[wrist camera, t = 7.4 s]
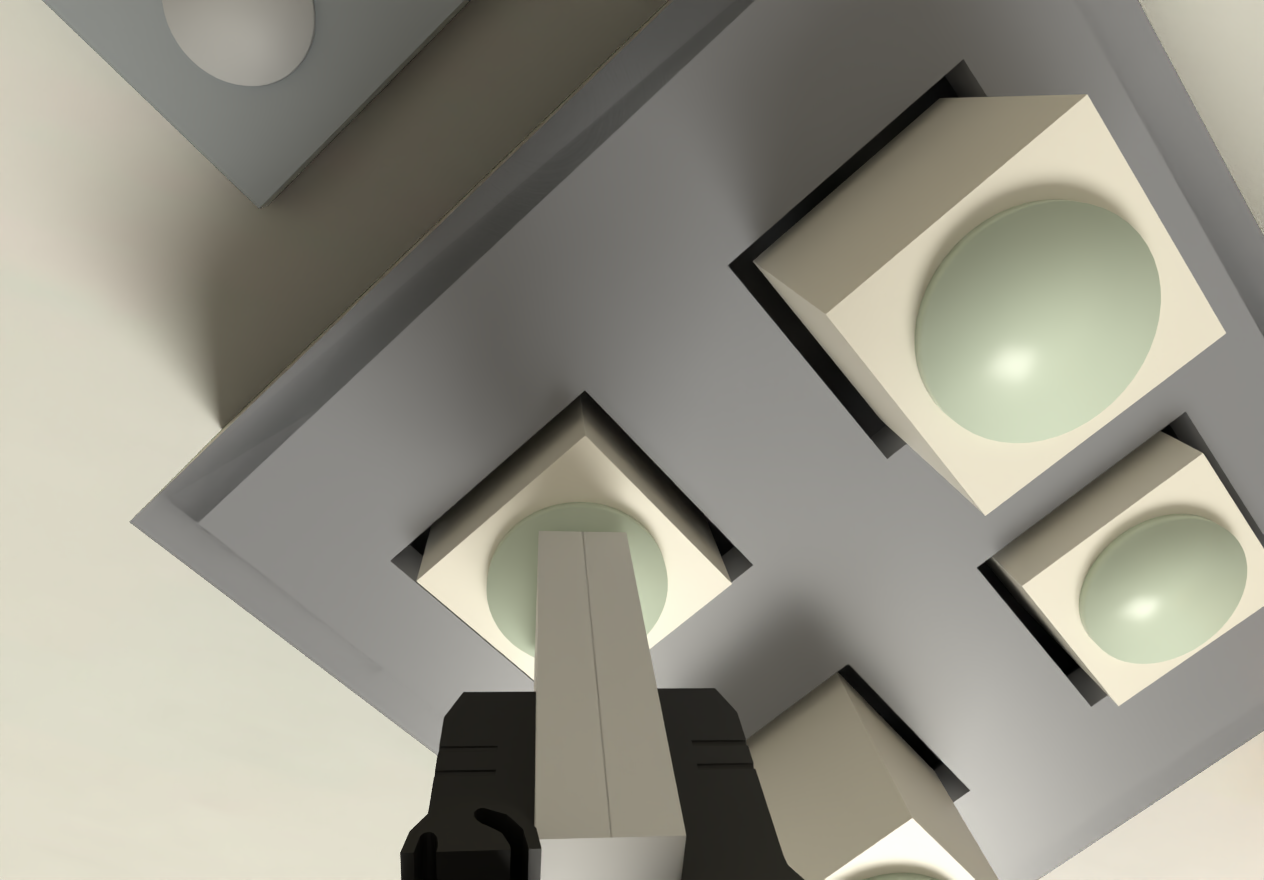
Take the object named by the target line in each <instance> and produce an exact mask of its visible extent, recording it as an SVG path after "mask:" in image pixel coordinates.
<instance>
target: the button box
mask: <svg viewBox="0 0 1264 880" xmlns="http://www.w3.org/2000/svg"><path fill="white" fill-rule="evenodd" d="M1079 94H1088V96H1089V98H1090V100H1091V101H1092V103H1093V105H1094V107H1095V108H1096V110H1097V112H1098V113H1099V115H1100V117H1101V119H1102V120H1103V122H1104V124H1105V125H1106V127H1107V129H1108V131H1109V132H1110V134H1111V136H1112V137H1113V139H1114V141H1115V143H1116V144H1117V146H1118V148H1119V150H1120V151H1121V153H1122V155H1123V156H1124V158H1125V160H1126V162H1127V163H1128V165H1129V167H1130V168H1131V170H1132V172H1133V174H1134V175H1135V177H1136V179H1137V181H1138V182H1139V184H1140V186H1141V187H1142V189H1143V191H1144V193H1145V194H1146V196H1147V198H1148V199H1149V201H1150V203H1151V205H1152V206H1153V208H1154V210H1155V211H1156V213H1157V215H1158V217H1159V218H1160V220H1161V222H1162V224H1163V225H1164V227H1165V229H1166V230H1167V232H1168V234H1169V236H1170V237H1171V239H1172V241H1173V242H1174V244H1175V246H1176V248H1177V249H1178V251H1179V253H1180V254H1181V256H1182V258H1183V260H1184V261H1185V263H1186V265H1187V267H1188V268H1189V270H1190V272H1191V273H1192V275H1193V277H1194V279H1195V280H1196V282H1197V284H1198V285H1199V287H1200V289H1201V291H1202V292H1203V294H1204V296H1205V298H1206V299H1207V301H1208V303H1209V304H1210V306H1211V308H1212V310H1213V311H1214V313H1215V315H1216V316H1217V318H1218V320H1219V322H1220V323H1221V325H1222V327H1223V328H1224V330H1225V332H1226V334H1225V335H1223V336H1222V337H1221V338H1219V339H1218V340H1217V341H1215V342H1214V343H1213V344H1211V345H1210V346H1209V347H1207V348H1206V349H1205V350H1204V351H1202V352H1201V353H1200V354H1198V355H1197V356H1196V357H1194V358H1193V359H1192V360H1190V361H1189V362H1188V363H1186V364H1185V365H1184V366H1182V367H1181V368H1180V369H1178V370H1177V371H1176V372H1175V373H1173V374H1172V375H1171V376H1169V377H1168V378H1167V379H1165V380H1164V381H1163V382H1161V383H1160V384H1159V385H1157V386H1156V387H1155V388H1153V389H1152V390H1151V391H1149V392H1148V393H1147V394H1146V395H1144V396H1143V397H1142V398H1140V399H1139V400H1138V401H1136V402H1135V403H1134V404H1132V405H1131V406H1130V407H1128V408H1127V409H1126V410H1124V411H1123V412H1122V413H1120V414H1119V415H1118V416H1117V417H1115V418H1114V419H1113V420H1111V421H1110V422H1109V423H1107V424H1106V425H1105V426H1103V427H1102V428H1101V429H1099V430H1098V431H1097V432H1095V433H1094V434H1093V435H1091V436H1090V437H1089V438H1088V439H1086V440H1085V441H1084V442H1082V443H1081V444H1080V445H1078V446H1077V447H1076V448H1074V449H1073V450H1072V451H1070V452H1069V453H1068V454H1066V455H1065V456H1064V457H1062V458H1061V459H1060V460H1059V461H1057V462H1056V463H1055V464H1053V465H1052V466H1051V467H1049V468H1048V469H1047V470H1045V471H1044V472H1043V473H1041V474H1040V475H1039V476H1037V477H1036V478H1035V479H1033V480H1032V481H1031V482H1030V483H1028V484H1027V485H1026V486H1024V487H1023V488H1022V489H1020V490H1019V491H1018V492H1016V493H1015V494H1014V495H1012V496H1011V497H1010V498H1008V499H1007V500H1006V501H1004V502H1003V503H1002V504H1001V505H999V506H998V507H997V508H995V509H994V510H993V511H991V512H990V513H989V514H987V515H986V516H985V515H984V514H983V513H982V512H981V511H980V510H978V509H977V508H976V507H975V506H974V505H973V504H972V503H971V502H970V501H969V500H968V499H967V498H965V497H964V496H963V495H962V494H961V493H960V492H959V491H958V490H957V489H956V488H955V487H953V486H952V485H951V484H950V483H949V482H948V481H947V480H946V479H945V478H944V477H943V476H942V475H940V474H939V473H938V472H937V471H936V470H935V469H934V468H933V467H932V466H931V465H930V464H928V463H927V462H926V461H925V460H924V459H923V458H922V457H921V456H920V455H919V454H918V453H917V452H915V451H914V450H913V449H912V448H911V447H910V446H909V445H908V444H907V443H906V442H905V441H903V440H902V439H901V438H900V437H899V436H898V435H897V434H896V433H895V432H894V431H893V430H892V429H890V428H889V427H888V426H887V425H886V424H885V423H884V422H883V421H882V420H881V419H880V418H879V417H878V416H877V414H876V413H875V412H874V411H873V409H872V408H871V407H870V406H869V405H868V403H867V402H866V401H865V400H864V398H863V397H862V396H861V395H860V393H859V392H858V391H857V390H856V388H855V387H854V386H853V385H852V384H851V382H850V381H849V380H848V379H847V377H846V376H845V375H844V374H843V372H842V371H841V370H840V369H839V367H838V366H837V365H836V364H835V362H834V361H833V360H832V359H831V358H830V356H829V355H828V354H827V353H826V351H825V350H824V349H823V348H822V346H821V345H820V344H819V343H818V341H817V340H816V339H815V338H814V337H813V335H812V334H811V333H810V332H809V330H808V329H807V328H806V327H805V325H804V324H803V323H802V322H801V320H800V319H799V318H798V317H797V316H796V314H795V313H794V312H793V311H792V309H791V308H790V307H789V306H788V304H787V303H786V302H785V301H784V299H783V298H782V297H781V296H780V294H779V293H778V292H777V291H776V290H775V288H774V287H773V286H772V285H771V283H770V282H769V281H768V280H767V278H766V277H765V276H764V275H763V273H762V272H761V271H760V270H759V269H758V267H757V266H756V265H755V264H754V262H753V260H754V259H756V258H757V257H758V256H759V255H760V254H761V253H763V252H764V251H765V250H766V249H767V248H768V247H769V246H771V245H772V244H773V243H774V242H775V241H776V240H777V239H779V238H780V237H781V236H782V235H783V234H784V233H785V232H787V231H788V230H789V229H790V228H791V227H792V226H794V225H795V224H796V223H797V222H798V221H799V220H800V219H802V218H803V217H804V216H805V215H806V214H807V213H808V212H810V211H811V210H812V209H813V208H814V207H815V206H817V205H818V204H819V203H820V202H821V201H822V200H823V199H825V198H826V197H827V196H828V195H829V194H830V193H831V192H833V191H834V190H835V189H836V188H837V187H838V186H839V185H841V184H842V183H843V182H844V181H845V180H846V179H848V178H849V177H850V176H851V175H852V174H853V173H854V172H856V171H857V170H858V169H859V168H860V167H861V166H862V165H864V164H865V163H866V162H867V161H868V160H869V159H870V158H872V157H873V156H874V155H875V154H876V153H877V152H879V151H880V150H881V149H882V148H883V147H884V146H885V145H887V144H888V143H889V142H890V141H891V140H892V139H893V138H895V137H896V136H897V135H898V134H899V133H900V132H901V131H903V130H904V129H905V128H906V127H907V126H908V125H910V124H911V123H912V122H913V121H914V120H915V119H916V118H918V117H919V116H920V115H921V114H922V113H923V112H924V111H926V110H927V109H928V108H929V107H930V106H931V105H932V104H934V103H935V102H936V101H937V100H938V99H939V98H965V97H1003V96H1041V95H1079ZM584 391H586V392H587V393H588V394H589V395H590V396H591V397H592V398H593V399H594V400H595V401H596V402H597V403H598V404H599V405H600V406H601V407H602V408H603V409H604V410H605V411H606V413H607V414H608V415H609V416H610V417H611V418H612V419H613V420H614V421H615V422H616V423H617V424H618V425H619V426H620V427H621V428H622V429H623V430H624V431H625V432H626V433H627V434H628V435H629V436H630V437H631V438H632V440H633V441H634V442H635V443H636V444H637V445H638V446H639V447H640V448H641V449H642V450H643V451H644V452H645V453H646V454H647V455H648V456H649V457H650V458H651V459H652V460H653V461H654V462H655V463H656V464H657V466H658V467H659V468H660V469H661V470H662V471H663V472H664V473H665V474H666V475H667V476H668V477H669V478H670V479H671V480H672V481H673V482H674V483H675V484H676V485H677V486H678V487H679V488H680V489H681V490H682V491H683V493H684V494H685V495H686V496H687V497H688V498H689V499H690V500H691V501H692V502H693V503H694V504H695V505H696V506H697V507H698V508H699V509H700V510H701V511H702V512H703V513H704V515H705V517H706V520H707V522H708V525H709V527H710V530H711V532H712V535H713V537H714V540H715V542H716V545H717V547H718V550H719V552H720V555H721V557H722V560H723V562H724V565H725V567H726V570H727V572H728V575H729V577H730V580H731V582H732V584H731V585H730V586H729V587H728V588H726V589H725V590H724V591H723V592H721V593H720V594H719V595H718V596H716V597H715V598H714V599H712V600H711V601H710V602H709V603H707V604H706V605H705V606H704V607H702V608H701V609H700V610H699V611H697V612H696V613H695V614H693V615H692V616H691V617H690V618H688V619H687V620H686V621H685V622H683V623H682V624H681V625H680V626H678V627H677V628H676V629H675V630H673V631H672V632H671V633H669V634H668V635H667V636H666V637H664V638H663V639H662V640H661V641H659V642H658V643H657V644H656V645H654V646H653V647H652V648H651V649H649V650H650V655H651V660H652V665H653V670H654V675H655V680H656V685H657V688H715V689H716V690H717V691H718V692H719V693H720V694H721V695H722V696H723V697H724V698H725V699H726V700H727V702H728V703H729V704H730V705H731V706H732V707H733V708H734V709H735V710H736V711H737V713H738V716H739V719H740V722H741V725H742V728H743V732H744V735H745V738H746V740H747V739H748V738H749V737H751V736H752V735H754V734H755V733H756V732H758V731H759V730H760V729H762V728H763V727H764V726H766V725H767V724H768V723H770V722H771V721H772V720H774V719H775V718H776V717H778V716H779V715H780V714H782V713H783V712H784V711H786V710H787V709H788V708H790V707H791V706H792V705H794V704H795V703H796V702H798V701H799V700H800V699H802V698H803V697H804V696H806V695H807V694H808V693H810V692H811V691H812V690H814V689H815V688H816V687H818V686H819V685H820V684H822V683H823V682H824V681H826V680H827V679H828V678H830V677H831V676H832V675H834V674H835V673H836V672H838V673H839V674H840V675H841V676H842V677H843V678H844V679H845V680H846V681H847V682H848V683H849V684H850V685H851V686H852V687H853V688H854V689H855V690H856V691H857V692H858V693H859V694H860V695H861V696H862V697H863V698H864V699H865V700H866V701H867V703H868V704H869V705H870V706H871V707H872V708H873V709H874V710H875V711H876V712H877V713H878V714H879V715H880V716H881V717H882V718H883V719H884V720H885V721H886V722H887V723H888V724H889V725H890V726H891V727H892V728H893V729H894V730H895V731H896V732H897V733H898V734H899V735H900V736H901V737H902V738H903V739H904V740H905V741H906V743H907V744H908V745H909V746H910V747H911V748H912V749H913V750H914V751H915V752H916V753H917V754H918V755H919V756H920V757H921V758H922V759H923V760H924V761H925V762H926V763H927V764H928V765H929V766H930V767H931V768H932V769H933V770H934V771H935V773H936V774H937V776H938V778H939V779H940V781H941V783H942V785H943V786H944V788H945V790H946V791H947V793H948V795H949V796H950V798H951V800H952V801H953V803H954V805H955V807H956V808H957V810H958V812H959V813H960V815H961V817H962V818H963V820H964V822H965V823H966V825H967V827H968V829H969V830H970V832H971V834H972V835H973V837H974V839H975V840H976V842H977V844H978V845H979V847H980V849H981V851H982V852H983V854H984V856H985V857H986V859H987V861H988V862H989V864H990V866H991V867H992V869H993V871H994V872H995V874H996V876H997V878H998V879H999V880H1039V879H1040V878H1042V877H1043V876H1045V875H1046V874H1048V873H1049V872H1051V871H1052V870H1054V869H1055V868H1057V867H1058V866H1060V865H1061V864H1063V863H1064V862H1066V861H1067V860H1069V859H1070V858H1072V857H1073V856H1075V855H1076V854H1078V853H1080V852H1081V851H1083V850H1084V849H1086V848H1087V847H1089V846H1090V845H1092V844H1093V843H1095V842H1096V841H1098V840H1099V839H1101V838H1102V837H1104V836H1105V835H1107V834H1108V833H1110V832H1111V831H1113V830H1114V829H1116V828H1117V827H1119V826H1120V825H1122V824H1123V823H1125V822H1126V821H1128V820H1129V819H1131V818H1132V817H1134V816H1136V815H1137V814H1139V813H1140V812H1142V811H1143V810H1145V809H1146V808H1148V807H1149V806H1151V805H1152V804H1154V803H1155V802H1157V801H1158V800H1160V799H1161V798H1163V797H1164V796H1166V795H1167V794H1169V793H1170V792H1172V791H1173V790H1175V789H1176V788H1178V787H1179V786H1181V785H1182V784H1184V783H1185V782H1187V781H1188V780H1190V779H1192V778H1193V777H1195V776H1196V775H1198V774H1199V773H1201V772H1202V771H1204V770H1205V769H1207V768H1208V767H1210V766H1211V765H1213V764H1214V763H1216V762H1217V761H1219V760H1220V759H1222V758H1223V757H1225V756H1226V755H1228V754H1229V753H1231V752H1232V751H1234V750H1235V749H1237V748H1238V747H1240V746H1241V745H1243V744H1244V743H1246V742H1248V741H1249V740H1251V739H1252V738H1254V737H1255V736H1257V735H1258V734H1260V733H1261V732H1263V731H1264V606H1263V607H1262V608H1260V609H1259V610H1258V611H1256V612H1255V613H1253V614H1252V615H1250V616H1249V617H1247V618H1246V619H1244V620H1243V621H1242V622H1240V623H1239V624H1237V625H1236V626H1234V627H1233V628H1231V629H1230V630H1228V631H1227V632H1226V633H1224V634H1223V635H1221V636H1220V637H1218V638H1217V639H1215V640H1214V641H1213V642H1211V643H1210V644H1208V645H1207V646H1205V647H1204V648H1202V649H1201V650H1199V651H1198V652H1197V653H1195V654H1194V655H1192V656H1191V657H1189V658H1188V659H1186V660H1185V661H1184V662H1182V663H1181V664H1179V665H1178V666H1176V667H1175V668H1173V669H1172V670H1170V671H1169V672H1168V673H1166V674H1165V675H1163V676H1162V677H1160V678H1159V679H1157V680H1156V681H1155V682H1153V683H1152V684H1150V685H1149V686H1147V687H1146V688H1144V689H1143V690H1141V691H1140V692H1139V693H1137V694H1136V695H1134V696H1133V697H1131V698H1130V699H1128V700H1127V701H1125V702H1124V703H1123V704H1121V705H1120V706H1118V705H1117V704H1116V703H1115V702H1114V701H1113V700H1112V699H1111V698H1110V697H1109V696H1108V695H1107V694H1106V693H1105V692H1104V691H1103V690H1102V689H1101V688H1100V687H1099V686H1098V685H1097V683H1096V682H1095V681H1094V680H1093V679H1092V678H1091V677H1090V676H1089V675H1088V674H1087V673H1086V672H1085V671H1084V670H1083V669H1082V668H1081V667H1080V666H1079V665H1078V664H1077V663H1076V662H1075V661H1074V660H1073V659H1072V658H1071V656H1070V655H1069V654H1068V653H1067V652H1066V651H1065V650H1064V649H1063V648H1062V647H1061V646H1060V645H1059V644H1058V643H1057V642H1056V641H1055V640H1054V639H1053V638H1052V637H1051V636H1050V635H1049V634H1048V633H1047V632H1046V631H1045V630H1044V628H1043V627H1042V626H1041V625H1040V624H1039V623H1038V622H1037V621H1036V620H1035V619H1034V618H1033V617H1032V616H1031V615H1030V614H1029V613H1028V612H1027V611H1026V610H1025V609H1024V608H1023V607H1022V606H1021V605H1020V604H1019V603H1018V601H1017V600H1016V599H1015V598H1014V597H1013V596H1012V594H1011V593H1010V592H1009V591H1008V590H1007V588H1006V587H1005V586H1004V585H1003V583H1002V582H1001V581H1000V580H999V578H998V577H997V576H996V575H995V574H994V572H993V571H992V570H991V569H990V567H989V566H988V565H987V564H986V563H985V561H986V560H988V559H989V558H990V557H992V556H993V555H994V554H996V553H997V552H998V551H1000V550H1001V549H1002V548H1004V547H1005V546H1006V545H1008V544H1009V543H1010V542H1012V541H1013V540H1014V539H1016V538H1017V537H1018V536H1020V535H1021V534H1022V533H1024V532H1025V531H1026V530H1028V529H1029V528H1030V527H1032V526H1033V525H1034V524H1036V523H1037V522H1038V521H1040V520H1041V519H1043V518H1044V517H1045V516H1047V515H1048V514H1049V513H1051V512H1052V511H1053V510H1055V509H1056V508H1057V507H1059V506H1060V505H1061V504H1063V503H1064V502H1065V501H1067V500H1068V499H1069V498H1071V497H1072V496H1073V495H1075V494H1076V493H1077V492H1079V491H1080V490H1081V489H1083V488H1084V487H1085V486H1087V485H1088V484H1089V483H1091V482H1092V481H1093V480H1095V479H1096V478H1097V477H1099V476H1100V475H1101V474H1103V473H1104V472H1105V471H1107V470H1108V469H1109V468H1111V467H1112V466H1113V465H1115V464H1116V463H1117V462H1119V461H1120V460H1121V459H1123V458H1124V457H1125V456H1127V455H1128V454H1129V453H1131V452H1132V451H1133V450H1135V449H1136V448H1137V447H1139V446H1140V445H1142V444H1143V443H1144V442H1146V441H1147V440H1148V439H1150V438H1151V437H1152V436H1154V435H1155V434H1156V433H1158V432H1159V431H1162V432H1164V433H1165V434H1167V435H1169V436H1171V437H1173V438H1175V439H1177V440H1179V441H1181V442H1183V443H1185V444H1187V445H1188V446H1190V447H1192V448H1194V449H1196V450H1198V451H1200V452H1202V453H1203V454H1204V455H1205V457H1206V458H1207V460H1208V462H1209V463H1210V465H1211V466H1212V468H1213V470H1214V471H1215V473H1216V474H1217V476H1218V477H1219V479H1220V481H1221V482H1222V484H1223V485H1224V487H1225V488H1226V490H1227V492H1228V493H1229V495H1230V496H1231V498H1232V499H1233V501H1234V503H1235V504H1236V506H1237V507H1238V509H1239V510H1240V512H1241V514H1242V515H1243V517H1244V518H1245V520H1246V521H1247V523H1248V525H1249V526H1250V528H1251V529H1252V531H1253V532H1254V534H1255V536H1256V537H1257V539H1258V540H1259V542H1260V543H1261V545H1262V547H1263V548H1264V236H1263V234H1262V232H1261V230H1260V228H1259V226H1258V224H1257V223H1256V221H1255V219H1254V217H1253V215H1252V213H1251V211H1250V209H1249V208H1248V206H1247V204H1246V202H1245V200H1244V198H1243V196H1242V194H1241V192H1240V191H1239V189H1238V187H1237V185H1236V183H1235V181H1234V179H1233V177H1232V176H1231V174H1230V172H1229V170H1228V168H1227V166H1226V164H1225V162H1224V161H1223V159H1222V157H1221V155H1220V153H1219V151H1218V149H1217V147H1216V146H1215V144H1214V142H1213V140H1212V138H1211V136H1210V134H1209V132H1208V130H1207V129H1206V127H1205V125H1204V123H1203V121H1202V119H1201V117H1200V115H1199V114H1198V112H1197V110H1196V108H1195V106H1194V104H1193V102H1192V100H1191V99H1190V97H1189V95H1188V93H1187V91H1186V89H1185V87H1184V85H1183V84H1182V82H1181V80H1180V78H1179V76H1178V74H1177V72H1176V70H1175V68H1174V67H1173V65H1172V63H1171V61H1170V59H1169V57H1168V55H1167V53H1166V52H1165V50H1164V48H1163V46H1162V44H1161V42H1160V40H1159V38H1158V37H1157V35H1156V33H1155V31H1154V29H1153V27H1152V25H1151V23H1150V22H1149V20H1148V18H1147V16H1146V14H1145V12H1144V10H1143V8H1142V6H1141V5H1140V3H1139V1H1138V0H669V1H668V2H667V3H666V4H665V5H664V6H663V7H662V8H661V9H660V10H659V11H658V12H656V13H655V14H654V15H653V16H652V17H651V18H650V19H649V20H648V21H647V22H646V23H645V24H644V25H643V26H642V27H641V28H640V29H639V30H638V31H637V32H636V33H635V34H634V35H632V36H631V37H630V38H629V39H628V40H627V41H626V42H625V43H624V44H623V45H622V46H621V47H620V48H619V49H618V50H617V51H616V52H615V53H614V54H613V55H612V56H611V57H610V58H609V59H607V60H606V61H605V62H604V63H603V64H602V65H601V66H600V67H599V68H598V69H597V70H596V71H595V72H594V73H593V74H592V75H591V76H590V77H589V78H588V79H587V80H586V81H585V82H584V83H582V84H581V85H580V86H579V87H578V88H577V89H576V90H575V91H574V92H573V93H572V94H571V95H570V96H569V97H568V98H567V99H566V100H565V101H564V102H563V103H562V104H561V105H560V106H559V107H557V108H556V109H555V110H554V111H553V112H552V113H551V114H550V115H549V116H548V117H547V118H546V119H545V120H544V121H543V122H542V123H541V124H540V125H539V126H538V127H537V128H536V129H535V130H533V131H532V132H531V133H530V134H529V135H528V136H527V137H526V138H525V139H524V140H523V141H522V142H521V143H520V144H519V145H518V146H517V147H516V148H515V149H514V150H513V151H512V152H511V153H510V154H508V155H507V156H506V157H505V158H504V159H503V160H502V161H501V162H500V163H499V164H498V165H497V166H496V167H495V168H494V169H493V170H492V171H491V172H490V173H489V174H488V175H487V176H486V177H485V178H483V179H482V180H481V181H480V182H479V183H478V184H477V185H476V186H475V187H474V188H473V189H472V190H471V191H470V192H469V193H468V194H467V195H466V196H465V197H464V198H463V199H462V200H461V201H459V202H458V203H457V204H456V205H455V206H454V207H453V208H452V209H451V210H450V211H449V212H448V213H447V214H446V215H445V216H444V217H443V218H442V219H441V220H440V221H439V222H438V223H437V224H436V225H434V226H433V227H432V228H431V229H430V230H429V231H428V232H427V233H426V234H425V235H424V236H423V237H422V238H421V239H420V240H419V241H418V242H417V243H416V244H415V245H414V246H413V247H412V248H411V249H409V250H408V251H407V252H406V253H405V254H404V255H403V256H402V257H401V258H400V259H399V260H398V261H397V262H396V263H395V264H394V265H393V266H392V267H391V268H390V269H389V270H388V271H387V272H386V273H384V274H383V275H382V276H381V277H380V278H379V279H378V280H377V281H376V282H375V283H374V284H373V285H372V286H371V287H370V288H369V289H368V290H367V291H366V292H365V293H364V294H363V295H362V296H360V297H359V298H358V299H357V300H356V301H355V302H354V303H353V304H352V305H351V306H350V307H349V308H348V309H347V310H346V311H345V312H344V313H343V314H342V315H341V316H340V317H339V318H338V319H337V320H335V321H334V322H333V323H332V324H331V325H330V326H329V327H328V328H327V329H326V330H325V331H324V332H323V333H322V334H321V335H320V336H319V337H318V338H317V339H316V340H315V341H314V342H313V343H312V344H310V345H309V346H308V347H307V348H306V349H305V350H304V351H303V352H302V353H301V354H300V355H299V356H298V357H297V358H296V359H295V360H294V361H293V362H292V363H291V364H290V365H289V366H288V367H286V368H285V369H284V370H283V371H282V372H281V373H280V374H279V375H278V376H277V377H276V378H275V379H274V380H273V381H272V382H271V383H270V384H269V385H268V386H267V387H266V388H265V389H264V390H263V391H261V392H260V393H259V394H258V395H257V396H256V397H255V398H254V399H253V400H252V401H251V402H250V403H249V404H248V405H247V406H246V407H245V408H244V409H243V410H242V411H241V412H240V413H239V414H238V415H236V416H235V417H234V418H233V419H232V420H231V421H230V422H229V423H228V424H227V425H226V426H225V427H224V428H223V429H222V430H221V431H220V432H219V433H218V434H217V435H216V436H215V437H214V438H213V439H212V440H211V441H210V442H209V443H208V444H207V445H206V446H205V447H204V448H203V449H202V450H201V451H200V452H199V453H198V454H197V455H196V456H195V457H194V458H193V459H192V460H191V461H190V462H189V463H188V464H187V465H186V466H185V467H184V468H183V469H182V470H181V471H180V472H179V473H178V474H177V475H176V476H175V477H174V478H173V479H172V480H171V481H170V482H169V483H168V484H167V485H166V486H165V487H164V488H163V489H162V490H161V491H160V492H159V493H158V494H157V495H156V496H155V497H154V498H153V499H152V500H151V501H150V502H149V503H148V504H147V505H146V506H145V507H144V508H143V509H142V510H141V511H140V512H139V513H138V514H137V515H136V516H135V517H134V518H133V519H132V520H131V521H130V523H131V524H133V525H134V526H135V527H137V528H138V529H139V530H141V531H142V532H143V533H144V534H146V535H147V536H148V537H150V538H151V539H152V540H154V541H155V542H156V543H158V544H159V545H160V546H162V547H163V548H164V549H166V550H167V551H168V552H170V553H171V554H172V555H173V556H175V557H176V558H177V559H179V560H180V561H181V562H183V563H184V564H185V565H187V566H188V567H189V568H191V569H192V570H193V571H195V572H196V573H197V574H199V575H200V576H201V577H203V578H204V579H205V580H206V581H208V582H209V583H210V584H212V585H213V586H214V587H216V588H217V589H218V590H220V591H221V592H222V593H224V594H225V595H226V596H228V597H229V598H230V599H232V600H233V601H234V602H235V603H237V604H238V605H239V606H241V607H242V608H243V609H245V610H246V611H247V612H249V613H250V614H251V615H253V616H254V617H255V618H257V619H258V620H259V621H261V622H262V623H263V624H264V625H266V626H267V627H268V628H270V629H271V630H272V631H274V632H275V633H276V634H278V635H279V636H280V637H282V638H283V639H284V640H286V641H287V642H288V643H290V644H291V645H292V646H293V647H295V648H296V649H297V650H299V651H300V652H301V653H303V654H304V655H305V656H307V657H308V658H309V659H311V660H312V661H313V662H315V663H316V664H317V665H319V666H320V667H321V668H323V669H324V670H325V671H326V672H328V673H329V674H330V675H332V676H333V677H334V678H336V679H337V680H338V681H340V682H341V683H342V684H344V685H345V686H346V687H348V688H349V689H350V690H352V691H353V692H354V693H355V694H357V695H358V696H359V697H361V698H362V699H363V700H365V701H366V702H367V703H369V704H370V705H371V706H373V707H374V708H375V709H377V710H378V711H379V712H381V713H382V714H383V715H384V716H386V717H387V718H388V719H390V720H391V721H392V722H394V723H395V724H396V725H398V726H399V727H400V728H402V729H403V730H404V731H406V732H407V733H408V734H410V735H411V736H412V737H413V738H415V739H416V740H417V741H419V742H420V743H421V744H423V745H424V746H425V747H427V748H428V749H429V750H431V751H432V752H433V753H435V754H436V755H437V756H438V752H439V744H440V738H441V732H442V726H443V720H444V716H445V715H446V714H447V712H448V711H449V710H450V709H451V707H452V706H453V705H454V703H455V702H456V701H457V700H458V698H459V697H460V696H461V694H462V693H463V692H534V680H533V679H532V678H531V677H530V676H528V675H527V674H526V673H525V672H524V671H522V670H521V669H520V668H519V667H518V666H516V665H515V664H514V663H513V662H512V661H511V660H509V659H508V658H507V657H506V656H505V655H503V654H502V653H501V652H500V651H499V650H498V649H496V648H495V647H494V646H493V645H492V644H490V643H489V642H488V641H487V640H486V639H484V638H483V637H482V636H481V635H480V634H479V633H477V632H476V631H475V630H474V629H473V628H471V627H470V626H469V625H468V624H467V623H465V622H464V621H463V620H462V619H461V618H460V617H458V616H457V615H456V614H455V613H454V612H452V611H451V610H450V609H449V608H448V607H447V606H445V605H444V604H443V603H442V602H441V601H439V600H438V599H437V598H436V597H435V596H433V595H432V594H431V593H430V592H429V591H428V590H426V589H425V588H424V587H423V586H422V585H420V584H419V583H418V582H417V577H418V573H419V570H420V566H421V562H422V558H423V555H424V551H425V547H426V543H427V540H428V536H429V532H430V529H431V525H432V524H433V523H434V522H435V521H436V520H437V519H439V518H440V517H441V516H442V515H443V514H444V513H445V512H447V511H448V510H449V509H450V508H451V507H452V506H453V505H455V504H456V503H457V502H458V501H459V500H460V499H461V498H463V497H464V496H465V495H466V494H467V493H468V492H469V491H470V490H472V489H473V488H474V487H475V486H476V485H477V484H478V483H480V482H481V481H482V480H483V479H484V478H485V477H486V476H488V475H489V474H490V473H491V472H492V471H493V470H494V469H496V468H497V467H498V466H499V465H500V464H501V463H502V462H504V461H505V460H506V459H507V458H508V457H509V456H510V455H512V454H513V453H514V452H515V451H516V450H517V449H518V448H520V447H521V446H522V445H523V444H524V443H525V442H526V441H528V440H529V439H530V438H531V437H532V436H533V435H534V434H536V433H537V432H538V431H539V430H540V429H541V428H542V427H544V426H545V425H546V424H547V423H548V422H549V421H550V420H552V419H553V418H554V417H555V416H556V415H557V414H558V413H560V412H561V411H562V410H563V409H564V408H565V407H566V406H568V405H569V404H570V403H571V402H572V401H573V400H574V399H576V398H577V397H578V396H579V395H580V394H581V393H582V392H584Z"/></svg>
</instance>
